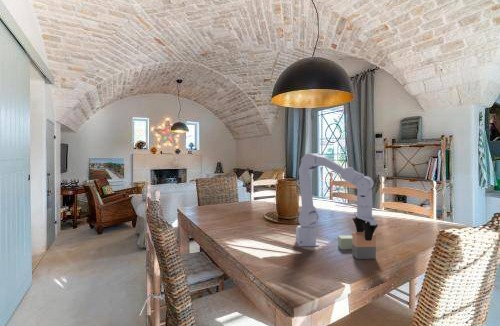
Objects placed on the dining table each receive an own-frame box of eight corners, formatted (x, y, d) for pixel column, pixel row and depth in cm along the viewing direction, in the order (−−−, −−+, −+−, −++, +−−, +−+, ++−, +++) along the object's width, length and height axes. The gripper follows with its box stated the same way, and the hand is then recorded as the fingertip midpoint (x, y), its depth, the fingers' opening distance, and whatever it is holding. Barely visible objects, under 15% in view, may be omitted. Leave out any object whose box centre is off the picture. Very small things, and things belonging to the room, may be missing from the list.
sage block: (341, 249, 113) (341, 238, 112) (338, 246, 117) (338, 235, 116) (358, 249, 113) (358, 238, 113) (354, 245, 117) (354, 235, 117)
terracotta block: (356, 247, 101) (356, 235, 101) (352, 243, 105) (352, 232, 105) (375, 246, 102) (375, 234, 102) (370, 243, 106) (370, 231, 106)
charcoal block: (356, 259, 102) (356, 247, 101) (352, 255, 106) (352, 243, 105) (375, 258, 102) (375, 246, 102) (370, 254, 106) (370, 243, 106)
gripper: (383, 209, 96) (383, 243, 96) (365, 202, 110) (364, 231, 111) (366, 209, 96) (365, 243, 96) (349, 202, 110) (349, 232, 111)
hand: (364, 237), depth 103 cm, fingers open, 6 cm apart
